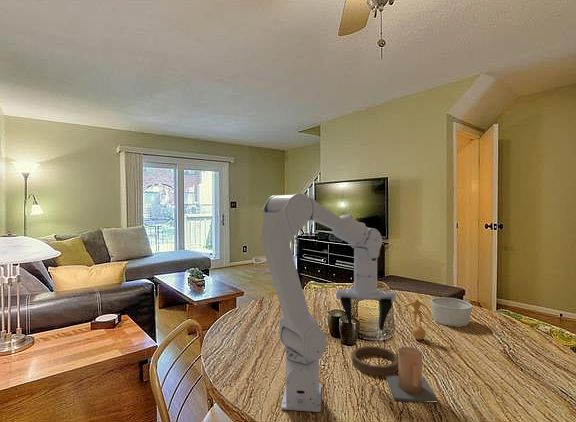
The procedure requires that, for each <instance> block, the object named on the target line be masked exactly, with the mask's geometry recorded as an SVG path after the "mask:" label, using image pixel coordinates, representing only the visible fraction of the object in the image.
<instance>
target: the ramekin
mask: <svg viewBox="0 0 576 422" xmlns="http://www.w3.org/2000/svg"><path fill="white" fill-rule="evenodd" d="M430 305H431V312H432V313H431V315H432V318H433V319H434V321H435V322H437V323H438V324H440V325H444V326H446V325H448V326H447V327H452V326H455V327H454V328H463V327H462V326H464V327H466V326H468V325H469V323H470V322H471V316H472V310H473V305H472V304H471V303H470V302H468V301H466V300H462V299H459V298H453V297H447V296H446V297H445V296H444V297H443V296H441V297H440V296H439V297H433V298H431V299H430Z"/></svg>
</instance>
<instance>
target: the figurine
mask: <svg viewBox="0 0 576 422" xmlns="http://www.w3.org/2000/svg"><path fill="white" fill-rule="evenodd" d="M409 306H412V307H413V309H414V310H412V314H413V315H412V316H413V318H414V319H413V321H414V327H413V328H412V330H411V334H412V335H411V336H412V337H414V339H415V340H417V341H418V340H419V341H421V340H424V339H425V338H426V335H427V333H426V329H424V327H423V326H422V320H423V315H422V310H420V309H421V306H423V307H425V308H426V310H427V312H428V313H429V315H430V316H431V317H432V313H431V312H432V311H430V308H428V306H427V305H426V304H424V303H423V302H421V301H419V299H418V298H417V299H414V300H412V301H410V302H409V303H407V304H406V305H405V308H404V311H403V315H404V316H405V315H406V311H407V308H408V307H409ZM417 317H419V319H418V320H419V321H418V323H419V324H418V325H417Z"/></svg>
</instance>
